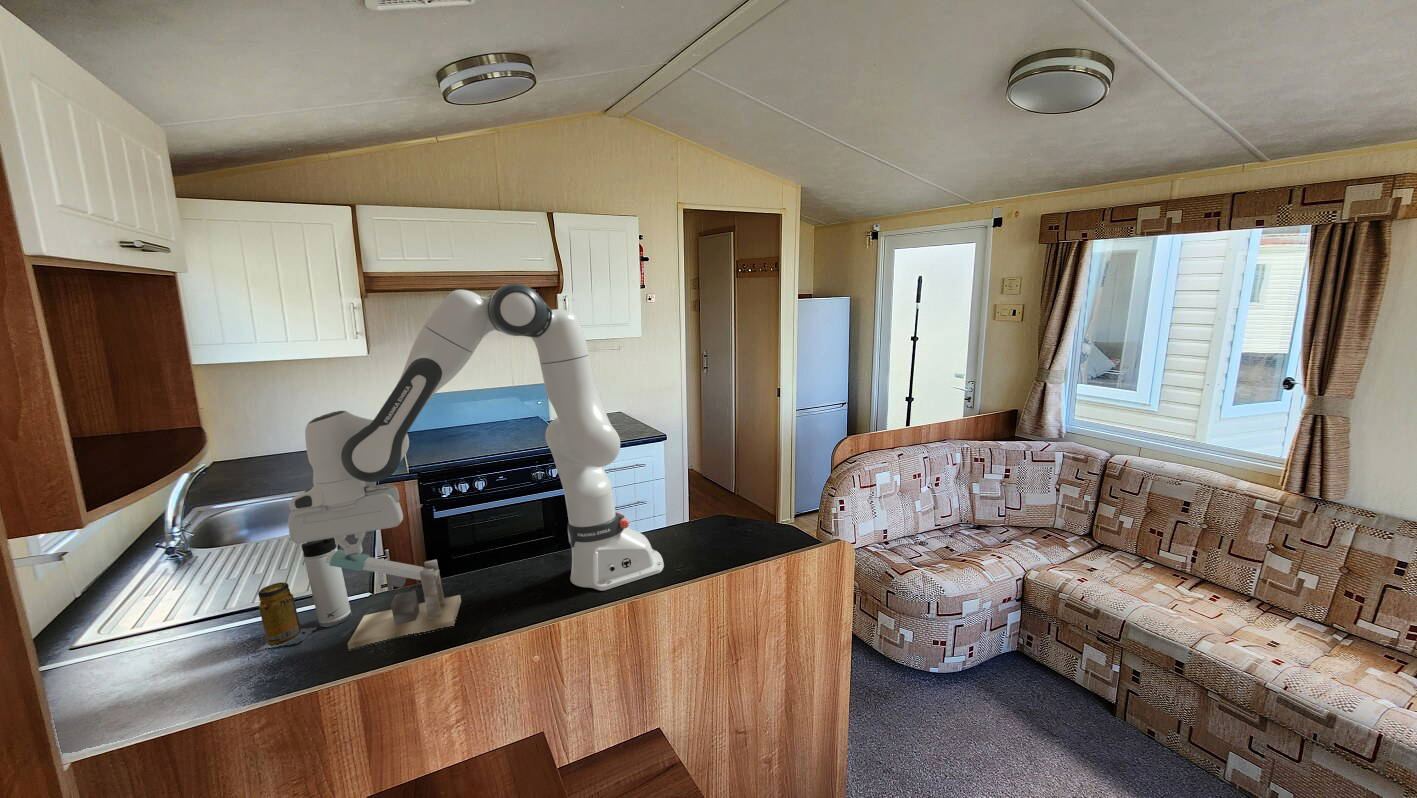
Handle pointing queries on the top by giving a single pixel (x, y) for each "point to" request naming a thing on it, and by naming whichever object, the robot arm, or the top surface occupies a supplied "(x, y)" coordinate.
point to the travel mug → (326, 582)
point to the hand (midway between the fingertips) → (354, 553)
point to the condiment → (278, 614)
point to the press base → (391, 630)
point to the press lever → (377, 566)
